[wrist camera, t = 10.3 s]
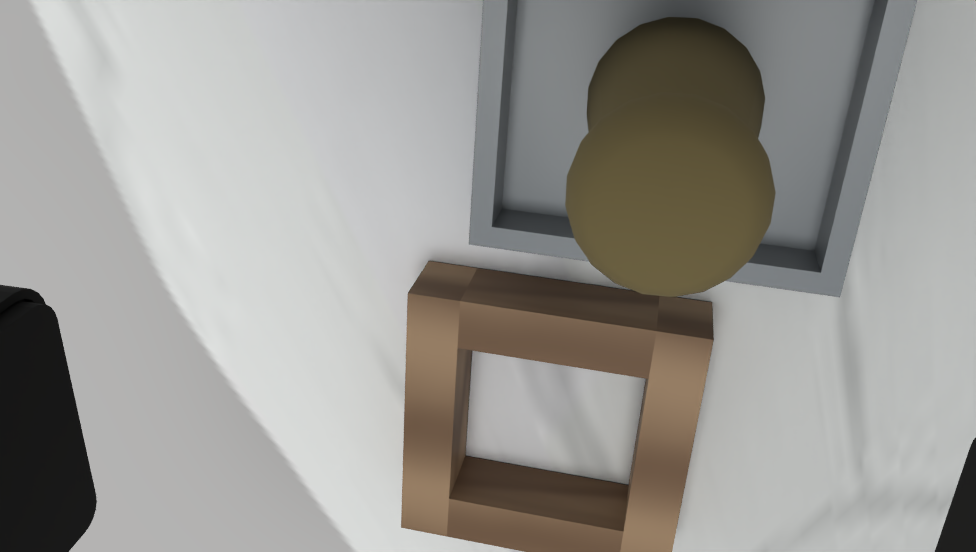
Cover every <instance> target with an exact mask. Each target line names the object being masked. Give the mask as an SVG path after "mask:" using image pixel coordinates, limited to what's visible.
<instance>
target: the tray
mask: <svg viewBox="0 0 976 552" xmlns="http://www.w3.org/2000/svg"><path fill="white" fill-rule="evenodd" d="M916 3H917V0H483V13H482V30H481V47H480V64H479V81H478V98H477V115H476V132H475V149H474V165H473V182H472V199H471V216H470V233H469V244H470V245H477V246H484V247H491V248H498V249H505V250H512V251H519V252H526V253H533V254H540V255H547V256H554V257H561V258H568V259H575V260H582V261H589V260H588V259H587V257H586V256H585V254H584V253H583V251H582V250H581V248H580V247H579V245H578V244H577V242H576V241H575V238H574V235H573V232H572V228H571V225H570V221H569V218H568V214H567V210H566V207H565V201H566V183H567V174H568V172H569V169H570V167H571V165H572V162H573V160H574V157H575V155H576V152H577V150H578V147H579V145H580V143H581V141H582V140H583V138H584V137H585V136H586V135H587V134H588V133H589V131H588V122H587V100H588V87H589V84H590V82H591V79H592V77H593V74H594V72H595V69H596V67H597V64H598V62H599V61H600V59H601V58H602V57H603V56H604V54H605V53H606V52H607V51H608V50H609V48H610V47H611V46H612V45H613V44H614V42H615V41H616V40H617V39H619V38H620V37H622V36H623V35H625V34H627V33H628V32H630V31H631V30H633V29H634V28H636V27H637V26H639V25H641V24H644V23H648V22H651V21H655V20H659V19H662V18H666V17H683V18H699V19H701V20H704V21H706V22H709V23H711V24H714V25H716V26H719V27H722V28H724V29H726V30H727V31H728V32H729V33H730V34H731V35H733V36H734V37H735V38H736V39H737V40H739V41H740V42H741V43H742V44H743V45H744V46H746V48H747V49H748V51H749V53H750V54H751V56H752V58H753V60H754V61H755V63H756V65H757V66H758V68H759V70H760V73H761V78H762V83H763V89H764V94H765V104H764V111H763V118H762V125H761V129H760V133H759V137H758V139H759V141H760V143H761V144H762V146H763V148H764V149H765V151H766V153H767V155H768V158H769V161H770V166H771V171H772V176H773V181H774V187H775V192H776V194H775V200H774V206H773V212H772V219H771V224H770V226H769V228H768V230H767V231H766V233H765V235H764V237H763V239H762V241H761V243H760V245H759V246H758V248H757V250H756V252H755V254H754V256H753V257H752V258H751V259H750V260H749V261H748V262H747V263H746V264H745V265H744V266H743V267H742V268H741V269H740V270H739V271H738V272H737V273H735V274H734V275H733V276H732V277H731V278H730V279H728V280H726V281H729V282H736V283H743V284H750V285H757V286H764V287H771V288H778V289H785V290H792V291H799V292H806V293H814V294H821V295H828V296H835V297H840V295H841V291H842V288H843V284H844V280H845V276H846V272H847V268H848V265H849V261H850V257H851V253H852V249H853V245H854V242H855V238H856V234H857V230H858V226H859V222H860V219H861V215H862V211H863V207H864V203H865V199H866V195H867V192H868V188H869V184H870V180H871V176H872V172H873V169H874V165H875V161H876V157H877V153H878V149H879V146H880V142H881V138H882V134H883V130H884V126H885V122H886V119H887V115H888V111H889V107H890V103H891V99H892V96H893V92H894V88H895V84H896V80H897V76H898V73H899V69H900V65H901V61H902V57H903V53H904V49H905V46H906V42H907V38H908V34H909V30H910V26H911V23H912V19H913V15H914V11H915V7H916ZM589 262H590V261H589Z"/></svg>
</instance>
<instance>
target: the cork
mask: <svg viewBox="0 0 976 552" xmlns="http://www.w3.org/2000/svg"><path fill="white" fill-rule="evenodd" d="M764 104H765V94H764V89H763V83H762V78H761V73H760V70H759V68H758V66H757V65H756V63H755V61H754V60H753V58H752V56H751V54H750V53H749V51H748V49H747V48H746V46H744V45H743V44H742V43H741V42H740V41H739V40H737V39H736V38H735V37H734V36H733V35H731V34H730V33H729V32H728V31H727V30H726V29H724V28H722V27H719V26H716V25H714V24H711V23H709V22H706V21H704V20H701V19H699V18H683V17H666V18H662V19H659V20H655V21H651V22H648V23H644V24H641V25H639V26H637V27H636V28H634V29H633V30H631V31H630V32H628V33H627V34H625V35H623V36H622V37H620V38H619V39H617V40H616V41H615V42H614V44H613V45H612V46H611V47H610V48H609V50H608V51H607V52H606V53H605V54H604V56H603V57H602V58H601V59H600V61H599V62H598V64H597V67H596V69H595V72H594V74H593V77H592V79H591V82H590V84H589V87H588V100H587V122H588V131H589V133H588V134H587V135H586V136H585V137H584V138H583V140H582V141H581V143H580V145H579V147H578V150H577V152H576V155H575V157H574V160H573V162H572V165H571V167H570V169H569V172H568V174H567V183H566V201H565V207H566V210H567V214H568V218H569V221H570V225H571V228H572V232H573V235H574V238H575V241H576V242H577V244H578V245H579V247H580V248H581V250H582V251H583V253H584V254H585V256H586V257H587V259H588V260H589V261H590V263H591V264H592V265H593V266H594V267H595V268H596V269H598V270H599V271H600V272H601V273H603V274H604V275H605V276H607V277H608V278H609V279H610V280H612V281H613V282H614V283H616V284H618V285H621V286H623V287H626V288H628V289H631V290H633V291H636V292H638V293H641V294H646V295H656V296H666V297H677V296H683V295H688V294H694V293H699V292H704V291H706V290H708V289H710V288H712V287H714V286H716V285H718V284H720V283H722V282H724V281H726V280H728V279H730V278H731V277H732V276H733V275H734V274H735V273H737V272H738V271H739V270H740V269H741V268H742V267H743V266H744V265H745V264H746V263H747V262H748V261H749V260H750V259H751V258H752V257H753V256H754V254H755V252H756V250H757V248H758V246H759V245H760V243H761V241H762V239H763V237H764V235H765V233H766V231H767V230H768V228H769V226H770V224H771V219H772V212H773V206H774V200H775V194H776V192H775V187H774V181H773V176H772V171H771V166H770V161H769V158H768V155H767V153H766V151H765V149H764V148H763V146H762V144H761V143H760V141H759V139H758V137H759V133H760V129H761V125H762V118H763V111H764Z"/></svg>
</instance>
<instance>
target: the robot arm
mask: <svg viewBox="0 0 976 552" xmlns="http://www.w3.org/2000/svg"><path fill="white" fill-rule="evenodd" d="M96 502H97V501H96V493H95V488H94V484H93V479H92V475H91V471H90V466H89V461H88V456H87V452H86V447H85V443H84V438H83V434H82V429H81V424H80V420H79V415H78V411H77V406H76V402H75V397H74V393H73V388H72V383H71V380H70V374H69V370H68V366H67V361H66V356H65V352H64V347H63V342H62V338H61V333H60V329H59V324H58V320H57V317H56V314H55V312H54V310H53V309H52V308H51V307H50V306H48V305H46V304H45V302H44V299H43V298H42V297H41V296H40V294H39V293H38V292H35V291H34V290H32V289H27V288H19V287H12V286H4V285H0V552H69V550H70V549H71V548H72V547H73V546H74V545H75V543H76V542H77V541H78V540H79V539H80V538H81V536H82V535H83V534H84V533H85V532H86V530H87V529H88V527H89V526H90V524H91V521H92V519H93V517H94V514H95V510H96ZM935 552H976V438H975V439H974V440H973V442H972V445H971V447H970V450H969V452H968V455H967V458H966V461H965V464H964V467H963V470H962V473H961V476H960V479H959V482H958V485H957V488H956V491H955V494H954V497H953V500H952V503H951V506H950V508H949V511H948V514H947V517H946V520H945V523H944V526H943V529H942V532H941V535H940V538H939V541H938V544H937V547H936V550H935Z"/></svg>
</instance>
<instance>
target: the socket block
mask: <svg viewBox="0 0 976 552" xmlns="http://www.w3.org/2000/svg"><path fill="white" fill-rule="evenodd" d="M713 340H714V338H713V309H712V302H705V301H699V300H692V299H685V298H678V297H666V296H656V295H646V294H641V293H638V292H636V291H630V290H624V289H617V288H610V287H603V286H596V285H589V284H583V283H576V282H569V281H562V280H555V279H549V278H542V277H535V276H528V275H521V274H514V273H508V272H501V271H494V270H487V269H480V268H474V267H467V266H460V265H453V264H446V263H439V262H433V261H429V262H428V263H427V265H426V266H425V268H424V269H423V271H422V272H421V274H420V275H419V277H418V278H417V280H416V281H415V283H414V285H413V286H412V288H411V289H410V291H409V292H408V305H407V341H406V377H405V412H404V448H403V484H402V519H401V528H406V529H412V530H417V531H422V532H427V533H432V534H437V535H442V536H448V537H453V538H458V539H463V540H468V541H473V542H478V543H483V544H489V545H494V546H499V547H504V548H509V549H514V550H519V551H525V552H672V549H673V543H674V538H675V533H676V528H677V523H678V518H679V513H680V508H681V503H682V498H683V493H684V488H685V483H686V477H687V472H688V467H689V462H690V457H691V452H692V447H693V442H694V437H695V432H696V427H697V422H698V416H699V411H700V406H701V401H702V396H703V391H704V386H705V381H706V376H707V371H708V366H709V361H710V356H711V350H712V345H713ZM472 350H473V351H479V352H485V353H491V354H497V355H504V356H510V357H516V358H522V359H528V360H535V361H541V362H547V363H553V364H559V365H566V366H572V367H578V368H584V369H590V370H597V371H603V372H609V373H615V374H621V375H628V376H634V377H640V378H646V381H645V387H644V393H643V399H642V406H641V412H640V418H639V424H638V430H637V436H636V442H635V449H634V455H633V461H632V467H631V473H630V479H629V485H624V484H618V483H613V482H607V481H602V480H596V479H591V478H585V477H580V476H574V475H568V474H563V473H557V472H552V471H546V470H541V469H535V468H530V467H524V466H518V465H513V464H507V463H502V462H496V461H491V460H485V459H480V458H474V457H468V456H465V453H466V438H467V422H468V407H469V391H470V376H471V360H472Z"/></svg>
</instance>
